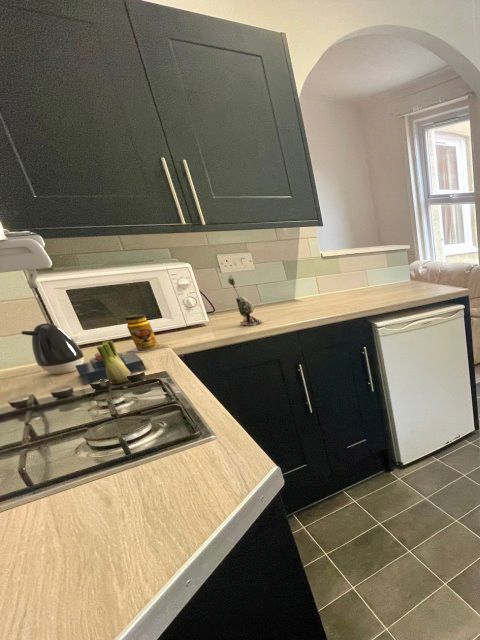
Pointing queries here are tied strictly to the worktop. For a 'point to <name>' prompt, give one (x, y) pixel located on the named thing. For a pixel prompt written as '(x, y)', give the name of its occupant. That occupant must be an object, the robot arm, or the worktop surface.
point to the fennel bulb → (113, 363)
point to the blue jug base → (98, 370)
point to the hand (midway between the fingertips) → (7, 291)
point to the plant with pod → (244, 307)
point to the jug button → (98, 356)
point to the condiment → (141, 333)
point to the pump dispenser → (55, 349)
